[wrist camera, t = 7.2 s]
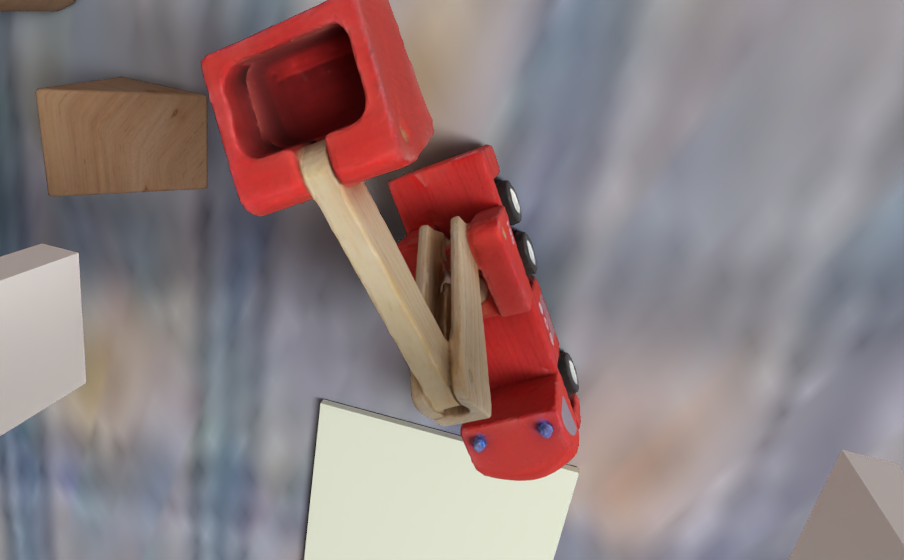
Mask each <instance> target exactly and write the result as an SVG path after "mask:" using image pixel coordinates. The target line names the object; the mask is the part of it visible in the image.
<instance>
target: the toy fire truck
mask: <svg viewBox="0 0 904 560" xmlns="http://www.w3.org/2000/svg"><path fill="white" fill-rule="evenodd" d="M201 66H202V71H203V76H204V79H205V83H206V87H207V90H208V92H209V99H210V102H211V104H212V108H213V111H214V113H215V117H216V121H217V125H218V128H219V131H220V134H221V137H222V143H223V145H224V149H225V153H226V156H227V158H228V162H229V168H230V172H231V174H232V177H233V180H234V184H235V188H236V190H237V192H238V197H239V198H240V203H242V204H243V206H244V208H245V209H246V210H247V211H248V212H250V213H251V214H254V215H257V216H264V215H267V214H270V213H273V212H276V211H279V210H282V209H285V208H288V207H290V206H293V205H295V204H302V203H303V202H305V201H308V200H312V199H313V200H315V201H316V202H317V204H318V205H319V207H320V209H321V210H322V213H323V215H324V217H325V218H326V220H327V222H328V223H329V225H330V227H331V230H332V231H333V232H334V234H335V236H336V237H337V239H338V241H339V243H340V245H341V246H342V248H343V250H344V252H345V254H346V256H347V257H348V259H349V261H350V263H351V264H352V266H353V268H354V270H355V272H356V273H357V275H358V277H359V279H360V280H361V282H362V284H363V286H364V287H365V289H366V291H367V293H368V295H369V297H370V298H371V300H372V302H373V304H374V305H375V307H376V309H377V310H378V312H379V314H380V316H381V318H382V320H383V321H384V323H385V325H386V327H387V328H388V332H389V333H390V334H391V335H392V337H393V339H394V341H395V342H396V344H397V346H398V348H399V350H400V351H401V353H402V355H403V357H404V359H405V360H406V362H407V364H408V365H409V367H410V369H411V395H412V399H413V402H414V405H415V407H416V408H417V409H418V410H419V411H420V412H421V413H422V414H424V415H426V416H427V417H429V418H430V419H432V420H434V421H435V422H436V423H438V424H439V425H441V426H450V425H455V424H461V423H462V425H461V437H462V439H463V442H464V445H465V446H466V449H467V451H468V454H469V455H470V457H471V462H472V463H473V464H474V466H475V468H476V470H477V471H479V472H480V473H481V474H483V475H484V476H489V477H492V478H497V479H504V480H514V481H527V480H536V479H540V478H543V477H546V476H548V475H550V474H552V473H554V472H556V471H557V470H559V469H561V468H562V467H563V466H564V465H566V464H567V463H568V462H569V461H570V460H571V459H572V458H573V457H574V456H575V455H576V453H577V450H578V446H579V431H578V429H579V428H580V422H581V420H580V405H579V399H578V397H577V395H576V394H575V393H576V392H578V389H579V385H578V379H577V373H576V369H575V366H574V364H573V361H572V359H571V357H570V355H569V354H568V353H559V350H560V349H559V342H558V339H557V336H556V334H555V331H554V327H553V324H552V321H551V318H550V315H549V313H548V310H547V307H546V305H545V301H544V298H543V296H542V292H541V289H540V286H539V284H538V281H537V279H536V278H535V277H534V276H533V275H531V274H535V273H536V270H537V262H536V258H535V254H534V250H533V245H532V243H531V241H530V239H529V237H528V235H527V234H526V233H525V232H515V233H514V234H513V233H512V229H511V225H514V224H517V223H519V222H520V221H521V217H522V215H521V208H520V204H519V201H518V198H517V195H516V192H515V190H514V188H513V186H512V185H511V183H510V182H509V181H500V182H496V183H495V182H494V178H495V177H496V176H497V175H498V174H499V172H500V170H499V165H498V162H497V159H496V156H495V153H494V150H493V148H492V146H490V145H484V146H481V147H479V148H476V149H474V150H471V151H468V152H465V153H462V154H460V155H457V156H454V157H452V158H448V159H446V160H443V161H440V162H437V163H434V164H431V165H428V166H426V167H423V168H421V169H418V170H415V171H412V172H409V173H407V174H404V175H403V176H400V177H399V178H395V179H392V180H389V182H388V186H389V190H390V192H391V194H392V197H393V199H394V202H395V204H396V207H397V210H398V212H399V215H400V217H401V220H402V222H403V225H404V227H405V230H406V232H407V236H406V237H405V238H404V239H402V240H401V241H400V242H399V243H398V244H396V242H395V241H394V239H393V237H392V235H391V233H390V231H389V229H388V227H387V225H386V223H385V221H384V220H383V218H382V216H381V214H380V213H379V210H378V208H377V206H376V204H375V202H374V200H373V199H372V197H371V195H370V193H369V191H368V189H367V187H366V185H365V183H364V181H365V180H368V179H370V178H373V177H376V176H379V175H382V174H385V173H388V172H391V171H394V170H397V169H400V168H403V167H405V166H408V165H410V164H411V163H413V162H414V161H416V160H417V159H418V156H419V154H420V153H421V151H422V150H423V149H424V147H426V146H427V144H428V143H429V140H430V138H431V136H432V135H433V134H434V129H433V125H432V121H433V120H432V118H431V116H430V114H429V112H428V109H427V107H426V104H425V101H424V99H423V96H422V93H421V91H420V88H419V85H418V82H417V79H416V76H415V73H414V69H413V66H412V64H411V62H410V60H409V58H408V56H407V53H406V50H405V48H404V43H403V40H402V38H401V35H400V32H399V28H398V25H397V22H396V20H395V18H394V15H393V12H392V9H391V7H390V4H389V1H388V0H327V1H325V2H323V3H321V4H319V5H317V6H315V7H313V8H311V9H309V10H306V11H304V12H302V13H300V14H297V15H295V16H293V17H291V18H289V19H287V20H285V21H283V22H281V23H279V24H277V25H274V26H271V27H269V28H267V29H265V30H263V31H260V32H258V33H256V34H254V35H252V36H250V37H248V38H246V39H243V40H241V41H239V42H237V43H235V44H232V45H229V46H227V47H225V48H223V49H220V50H218V51H216V52H214V53H210V54H208V55H206V56H205V57H204V59H203V60H202V61H201Z"/></svg>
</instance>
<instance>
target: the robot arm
mask: <svg viewBox="0 0 904 560" xmlns="http://www.w3.org/2000/svg"><path fill="white" fill-rule="evenodd" d="M85 383H86V369H85V353H84V336H83V320H82V303H81V287H80V270H79V254H78V253H77V252H73V251H69V250H65V249H62V248H58V247H54V246H50V245H46V244H39V245H36V246H33V247H29V248H26V249H23V250H20V251H17V252H14V253H10V254H7V255H4V256H1V257H0V436H1V435H3V434H4V433H6V432H8V431H9V430H11V429H12V428H14V427H16V426H17V425H19V424H21V423H22V422H24V421H25V420H27V419H29V418H30V417H32V416H34V415H35V414H37V413H38V412H40V411H42V410H43V409H45V408H47V407H48V406H50V405H51V404H53V403H55V402H56V401H58V400H59V399H61V398H63V397H64V396H66V395H68V394H69V393H71V392H72V391H74V390H76V389H77V388H79V387H81V386H82V385H84V384H85ZM789 560H904V472H903V471H902V470H901V468H900V467H899V466H898V465H897V464H896V463H892V462H888V461H884V460H880V459H876V458H872V457H868V456H865V455H861V454H857V453H853V452H849V451H845V450H842V451H841V453H840V455H839V457H838V459H837V461H836V464H835V466H834V468H833V470H832V472H831V474H830V476H829V478H828V480H827V482H826V484H825V486H824V488H823V490H822V492H821V494H820V496H819V499H818V501H817V503H816V505H815V507H814V509H813V511H812V513H811V515H810V517H809V519H808V521H807V523H806V525H805V527H804V529H803V531H802V534H801V536H800V538H799V540H798V542H797V544H796V546H795V548H794V550H793V552H792V554H791V556H790V558H789Z"/></svg>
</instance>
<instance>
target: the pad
mask: <svg viewBox="0 0 904 560" xmlns="http://www.w3.org/2000/svg"><path fill="white" fill-rule="evenodd" d="M578 475H579V468H577V467H574V466H570V465H564V466H563V467H562V468H561V469H559V470H557V471H556V472H554V473H552V474H550V475H548V476H546V477H543V478H540V479H536V480H527V481H514V480H504V479H497V478H492V477H489V476H484V475H483V474H481V473H480V472H479V471H477V470H476V468H475V466H474V464H473V463H472V462H471V457H470V455H469V454H468V451H467V449H466V446H465V445H464V442H463V439H462V437H461V436H458V435H455V434H451V433H447V432H443V431H440V430H436V429H432V428H429V427H425V426H421V425H417V424H414V423H410V422H406V421H403V420H399V419H395V418H391V417H388V416H384V415H380V414H376V413H373V412H369V411H365V410H362V409H358V408H354V407H350V406H347V405H343V404H339V403H336V402H332V401H328V400H323V401H322V402H321V404H320V414H319V423H318V433H317V442H316V452H315V461H314V471H313V480H312V490H311V499H310V509H309V518H308V528H307V537H306V547H305V556H304V560H553V559H554V555H555V552H556V549H557V545H558V542H559V539H560V535H561V532H562V528H563V525H564V522H565V518H566V515H567V512H568V508H569V505H570V502H571V498H572V495H573V492H574V488H575V485H576V482H577V478H578Z"/></svg>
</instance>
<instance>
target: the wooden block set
mask: <svg viewBox="0 0 904 560" xmlns="http://www.w3.org/2000/svg"><path fill="white" fill-rule="evenodd" d="M73 2H75V0H0V11H59V10H61V9H63V8H65V7H67V6H69V5H71V4H72V3H73ZM36 100H37V108H38V116H39V124H40V132H41V140H42V147H43V155H44V163H45V171H46V179H47V187H48V195H49V196H53V197H54V196H73V195H92V194H111V193H130V192H150V191H169V190H188V189H205V188H207V97H206V96H205V95H202V94H197V93H193V92H188V91H184V90H179V89H174V88H170V87H165V86H161V85H156V84H152V83H147V82H142V81H138V80H133V79H129V78H124V77H118V78H111V79H104V80H97V81H90V82H83V83H76V84H69V85H62V86H55V87H47V88H41V89H37V90H36Z"/></svg>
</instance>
